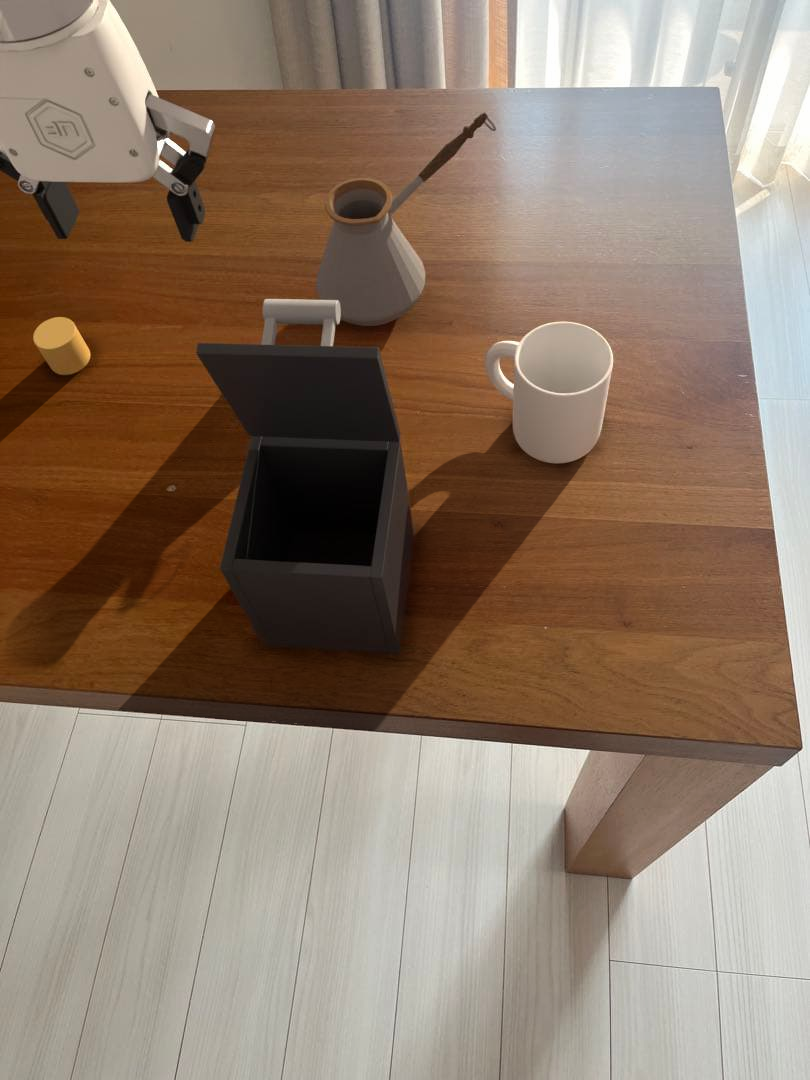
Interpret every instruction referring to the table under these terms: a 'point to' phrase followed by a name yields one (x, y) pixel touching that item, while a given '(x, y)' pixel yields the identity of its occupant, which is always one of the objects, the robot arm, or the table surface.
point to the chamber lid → (304, 380)
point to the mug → (555, 388)
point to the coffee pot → (375, 246)
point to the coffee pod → (62, 345)
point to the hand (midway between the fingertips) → (130, 227)
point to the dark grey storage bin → (322, 543)
